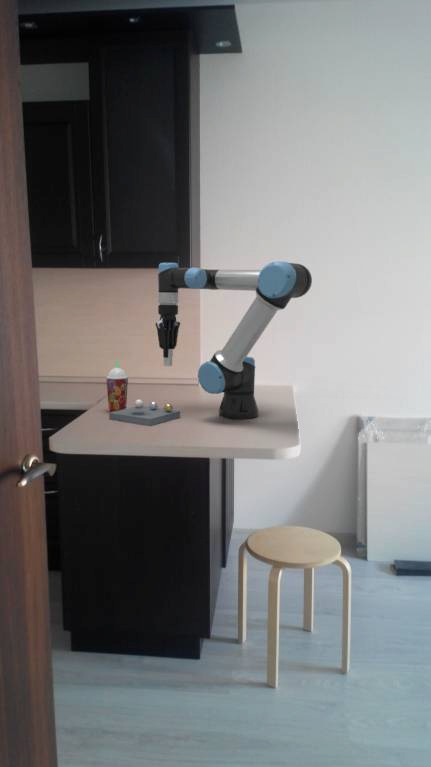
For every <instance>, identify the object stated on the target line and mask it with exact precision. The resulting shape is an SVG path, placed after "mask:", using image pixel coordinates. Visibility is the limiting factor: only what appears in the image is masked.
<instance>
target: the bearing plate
mask: <svg viewBox="0 0 431 767" xmlns="http://www.w3.org/2000/svg"><path fill="white" fill-rule="evenodd" d="M108 414H109V415H108V416H109V417H108V418H109V420H110V421H116V420H117V421H118V422H122V421H123V422H125V423H128V422H129V424H130V423H131V424H135V425H143V426H148V427H153V426H155V425H159V424H162V423H166V422H170V421H173V420H176V419H181V410H176V409H172V411H171V412H166V411H165V409H164V408H161V407H157V409H155V410H152V409H150V407H149V405H147V406H146V405H143V406H142V407H141V408H137V407H136V406H133V407H127V408H126V409H123V410H119V411H114V412H110V411H109V413H108ZM117 421H116V422H117Z"/></svg>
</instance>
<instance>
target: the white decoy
mask: <svg viewBox="0 0 431 767" xmlns="http://www.w3.org/2000/svg"><path fill="white" fill-rule="evenodd" d="M142 406H144V402H143V400H142V399H136V400H135V402H134V407H137V408H141V407H142Z"/></svg>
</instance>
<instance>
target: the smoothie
mask: <svg viewBox="0 0 431 767" xmlns="http://www.w3.org/2000/svg"><path fill="white" fill-rule="evenodd" d="M115 365H116V366H115V367H113V368H112V369H111V370H109V372H108V373H107V376H105V378H106V391H107V404H108V409H109V413H110V412H114V411H119V410H123V409H127V403H128V402H127V401H128V383H129V376H128V374H127V373H126V371H125V370H124V369H123V368H121V367H119V360H116V361H115Z"/></svg>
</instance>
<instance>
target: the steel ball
mask: <svg viewBox="0 0 431 767" xmlns="http://www.w3.org/2000/svg"><path fill="white" fill-rule="evenodd" d="M148 407H150V409H152V410H155V409H157V408H159V407H158V402H156V401H155V400H154V401H153V400H152V401H151V402H150V403H149V405H148Z"/></svg>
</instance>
